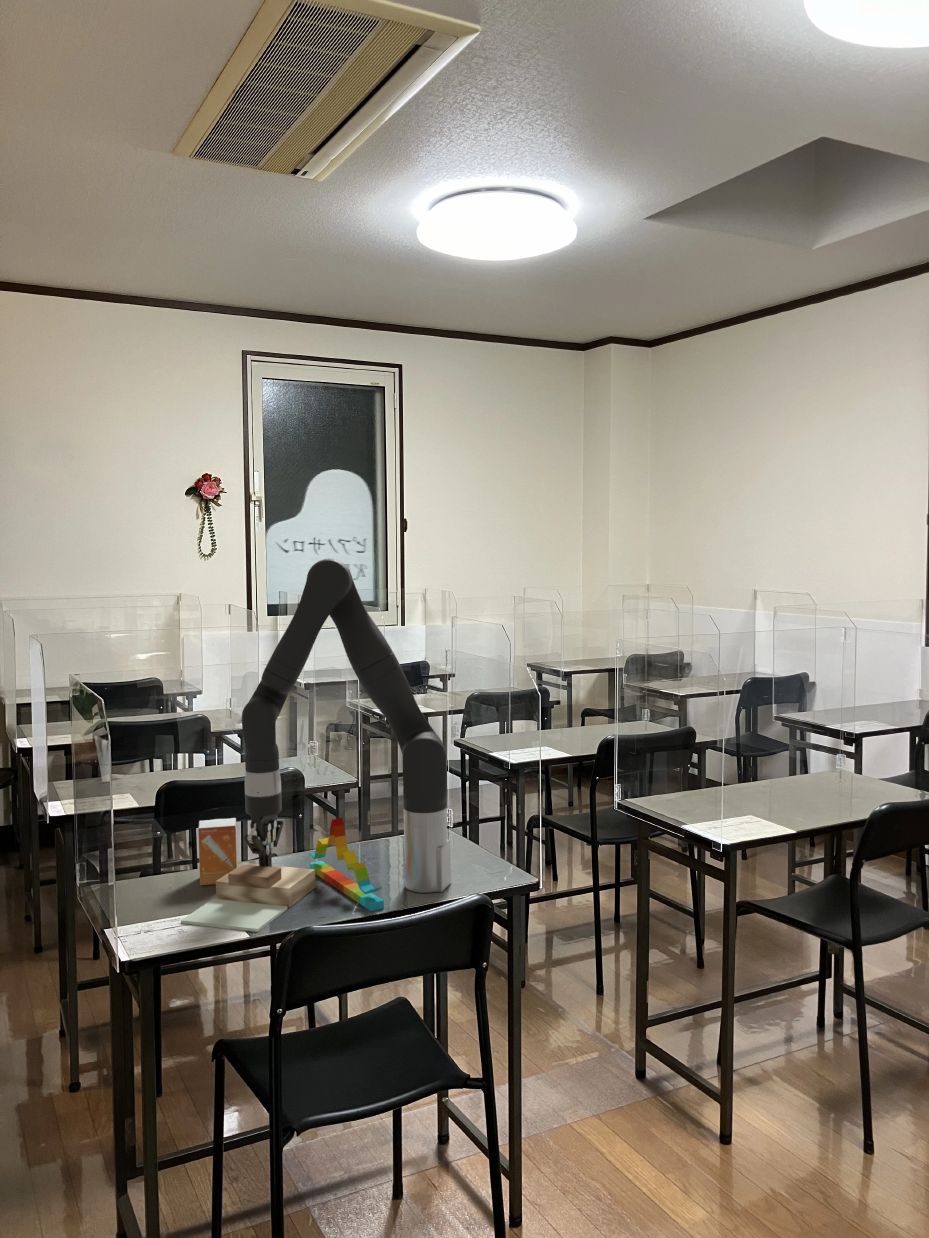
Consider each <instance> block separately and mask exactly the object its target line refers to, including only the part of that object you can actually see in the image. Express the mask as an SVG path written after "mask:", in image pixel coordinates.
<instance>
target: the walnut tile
mask: <svg viewBox="0 0 929 1238" xmlns="http://www.w3.org/2000/svg"><path fill="white" fill-rule="evenodd" d="M239 866H240V867H239ZM239 866H237V869H235V870H233V871H232V872H230V873H229V874H228V883H229V885H232V886H242V887H253V888H263V889H268V888H270V887H271V886H272V885H274V884H275V883H277V882H278V881H279V880H281V868H277V867H266V866H254V865H242V864H241V865H239Z"/></svg>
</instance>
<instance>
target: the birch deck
mask: <svg viewBox="0 0 929 1238" xmlns="http://www.w3.org/2000/svg"><path fill="white" fill-rule="evenodd" d="M241 865H254V866H259V863H249V862H244V863H242V864H241ZM241 865H239V866H238V867H240V866H241ZM238 867H237V868H238ZM272 867H277V868H281V880H279V881H278V882H277V883H275V884H274V885H272V886H271V887H270V888H268V889H263V888H253V887H242V886H232V885H229V883H228V874H229V873H228V874H226V875H225V876H223V877H222V878H220V879H218V880H217V881H216V884H215V899H221V900H230V901H240V902H249V903H259V904H268V905H278V906H287V908H291V907H292V906H294V905H295V904H296V903H297V902H298V901H300V900H302V899H303V898H304V897H305V896H306V895H308V894H309V893H310V892H311V891H313V890H314V889H315V888H316V874H315V869H310V868H303V867H302V868H301V867H293V866H291V867H289V866H282V865H281V866H280V865H272ZM237 868H236V869H237ZM234 870H235V869H234ZM231 872H232V871H231Z"/></svg>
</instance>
